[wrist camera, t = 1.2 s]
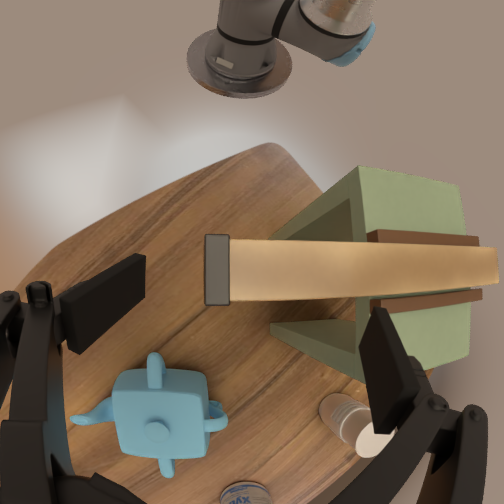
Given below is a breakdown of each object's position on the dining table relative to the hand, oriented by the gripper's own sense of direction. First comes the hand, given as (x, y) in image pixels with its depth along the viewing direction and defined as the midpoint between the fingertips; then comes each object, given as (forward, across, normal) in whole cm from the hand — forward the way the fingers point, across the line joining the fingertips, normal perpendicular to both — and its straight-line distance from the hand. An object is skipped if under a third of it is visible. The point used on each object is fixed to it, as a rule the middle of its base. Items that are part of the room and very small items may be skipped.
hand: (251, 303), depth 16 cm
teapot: (+16, -14, -31) cm, 38 cm away
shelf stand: (+32, +5, -12) cm, 35 cm away
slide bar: (+5, +7, +1) cm, 9 cm away
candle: (+25, +16, -32) cm, 43 cm away
